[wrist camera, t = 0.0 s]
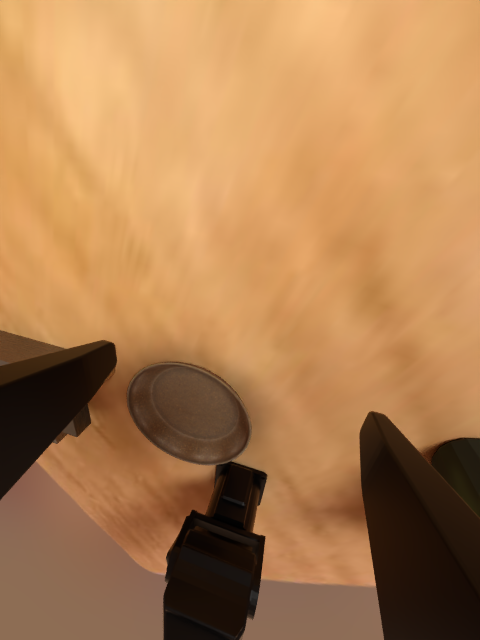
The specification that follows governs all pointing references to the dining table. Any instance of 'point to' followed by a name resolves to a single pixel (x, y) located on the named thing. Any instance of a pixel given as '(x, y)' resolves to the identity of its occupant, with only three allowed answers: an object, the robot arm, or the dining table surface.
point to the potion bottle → (461, 469)
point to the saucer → (189, 413)
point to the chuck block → (24, 353)
